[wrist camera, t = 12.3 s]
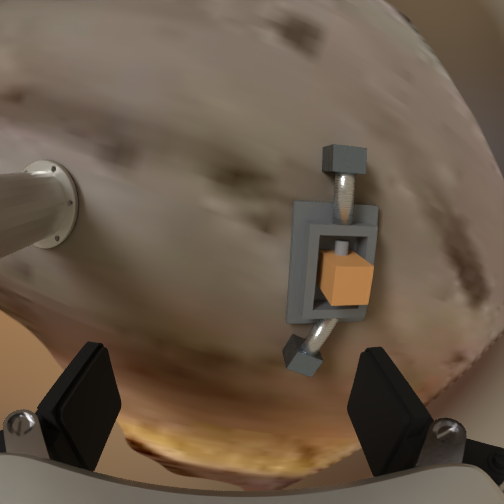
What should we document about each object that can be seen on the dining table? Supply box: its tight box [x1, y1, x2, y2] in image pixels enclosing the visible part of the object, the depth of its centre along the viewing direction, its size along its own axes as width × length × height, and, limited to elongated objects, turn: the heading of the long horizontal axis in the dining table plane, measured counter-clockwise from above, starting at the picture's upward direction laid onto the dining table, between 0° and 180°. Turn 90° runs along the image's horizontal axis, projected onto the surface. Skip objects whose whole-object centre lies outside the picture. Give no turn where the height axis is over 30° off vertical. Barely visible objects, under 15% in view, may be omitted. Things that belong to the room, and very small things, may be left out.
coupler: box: [316, 239, 374, 306], centre depth 34 cm, size 4×8×7 cm, turn 179°
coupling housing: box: [286, 200, 379, 324], centre depth 37 cm, size 11×16×4 cm
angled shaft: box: [282, 318, 340, 377], centre depth 39 cm, size 9×4×4 cm, turn 154°
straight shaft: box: [322, 144, 367, 226], centre depth 34 cm, size 9×4×4 cm, turn 179°
